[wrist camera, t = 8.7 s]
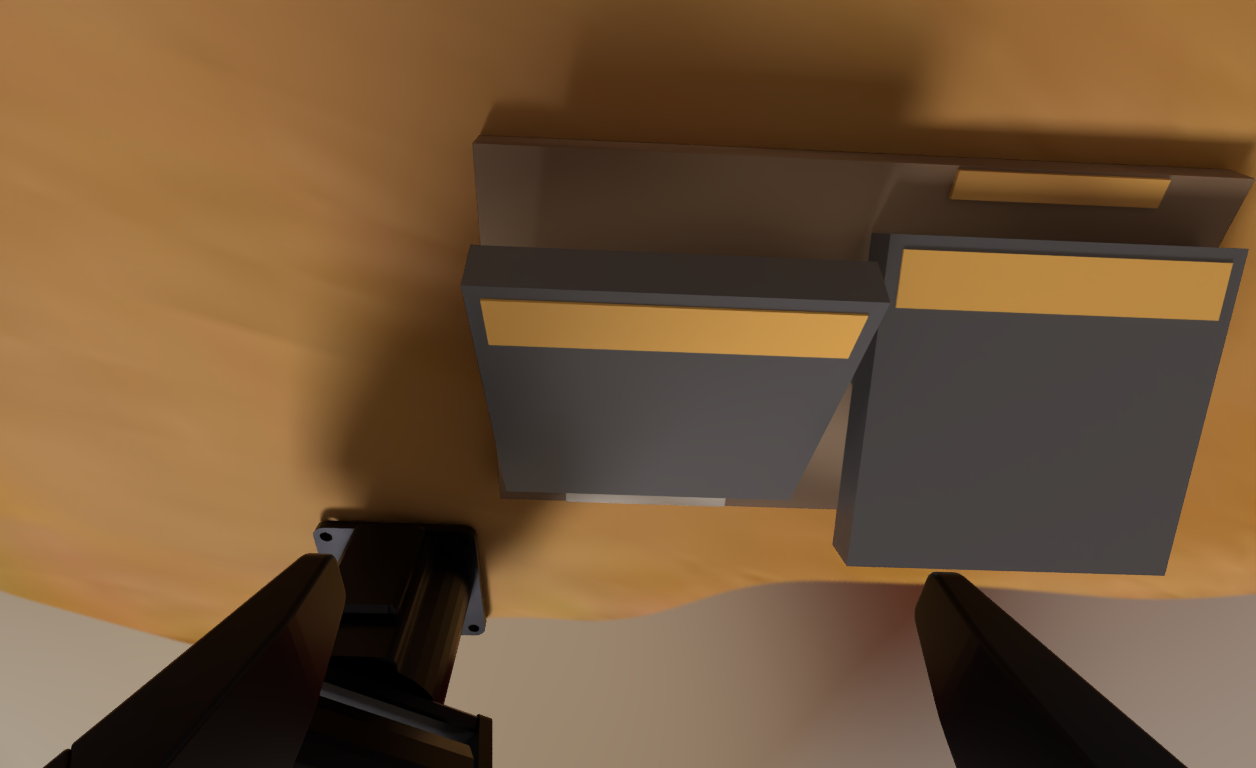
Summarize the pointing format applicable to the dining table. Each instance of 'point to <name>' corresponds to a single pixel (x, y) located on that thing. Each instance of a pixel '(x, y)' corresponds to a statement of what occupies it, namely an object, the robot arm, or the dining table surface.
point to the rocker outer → (1031, 403)
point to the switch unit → (820, 220)
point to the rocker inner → (664, 366)
